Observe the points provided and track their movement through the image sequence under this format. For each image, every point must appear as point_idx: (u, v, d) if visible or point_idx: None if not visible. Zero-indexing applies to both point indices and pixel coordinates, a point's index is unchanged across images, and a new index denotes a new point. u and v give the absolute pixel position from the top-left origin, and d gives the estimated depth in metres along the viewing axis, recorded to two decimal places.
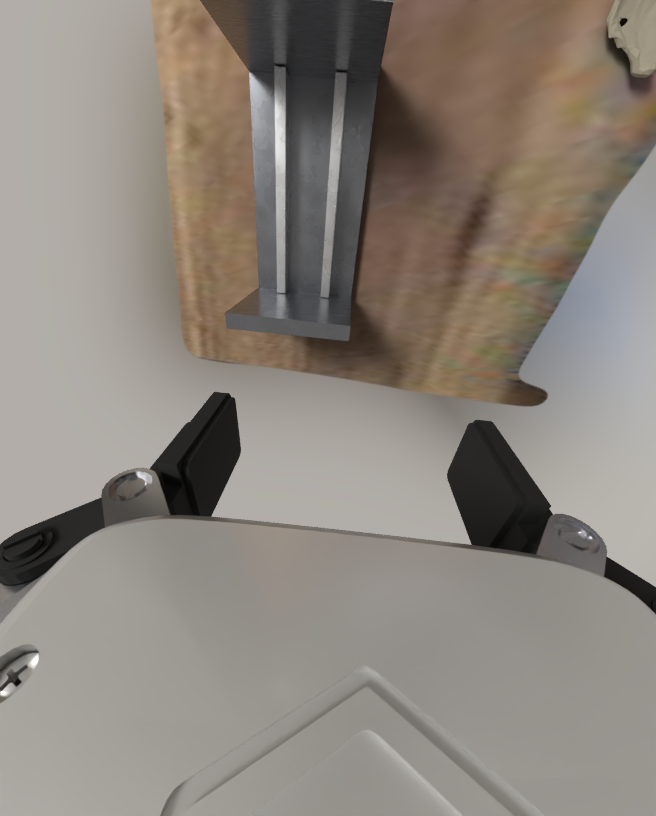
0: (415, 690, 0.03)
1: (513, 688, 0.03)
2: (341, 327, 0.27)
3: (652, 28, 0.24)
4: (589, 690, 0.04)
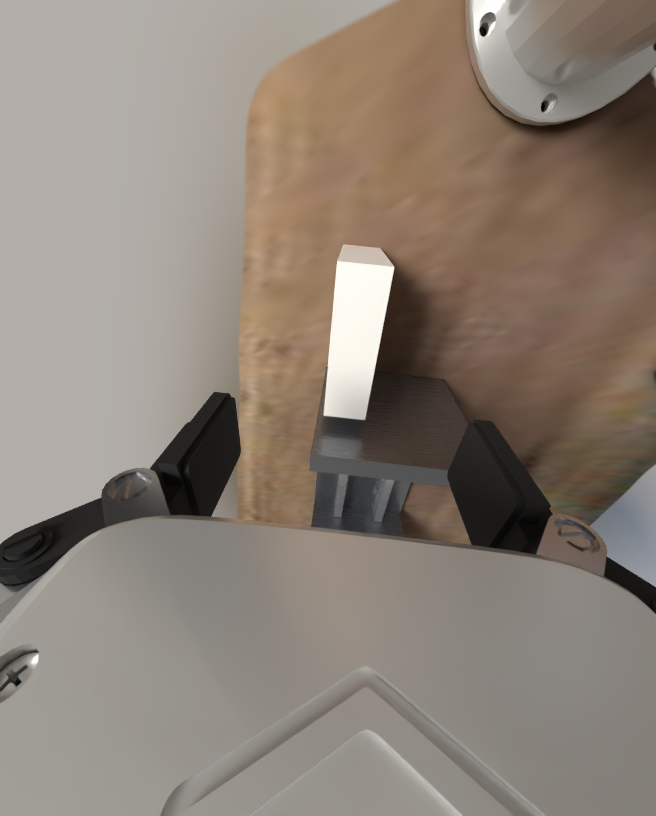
0: (415, 690, 0.03)
1: (513, 688, 0.03)
2: None
3: None
4: (589, 690, 0.04)
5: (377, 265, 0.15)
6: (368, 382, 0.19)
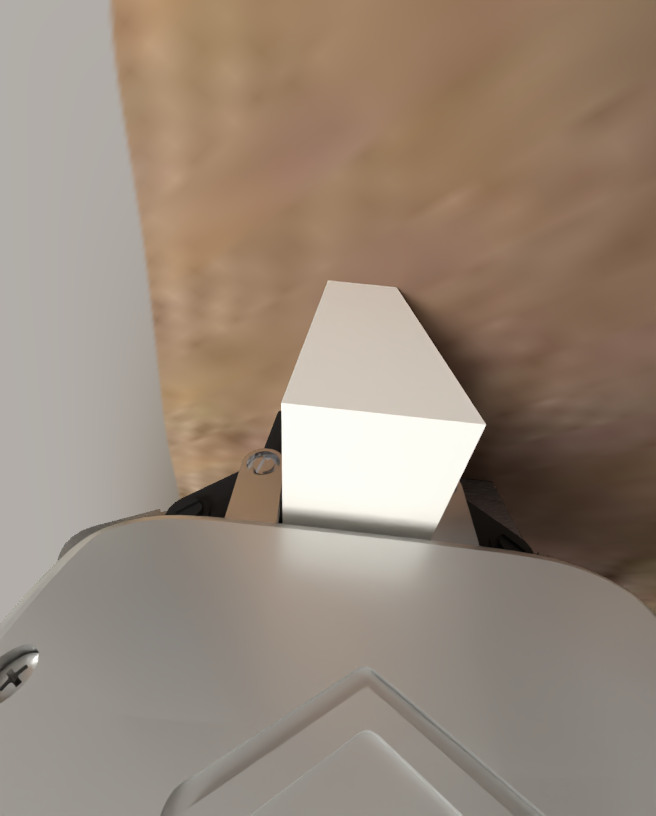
0: (416, 690, 0.03)
1: (513, 688, 0.03)
2: None
3: None
4: (589, 690, 0.04)
5: (424, 416, 0.04)
6: None
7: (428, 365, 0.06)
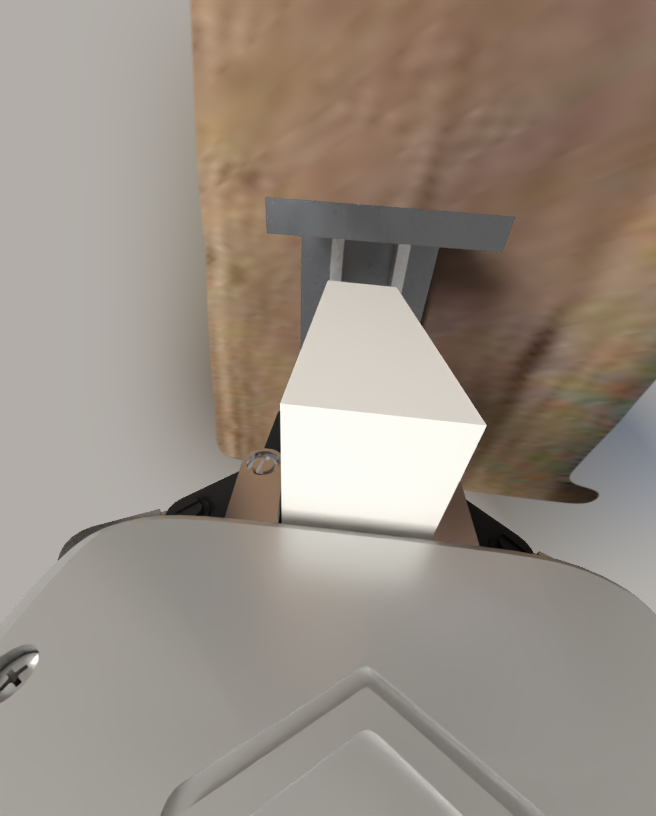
0: (415, 689, 0.03)
1: (513, 688, 0.03)
2: None
3: None
4: (589, 690, 0.04)
5: (424, 416, 0.04)
6: None
7: (428, 365, 0.06)
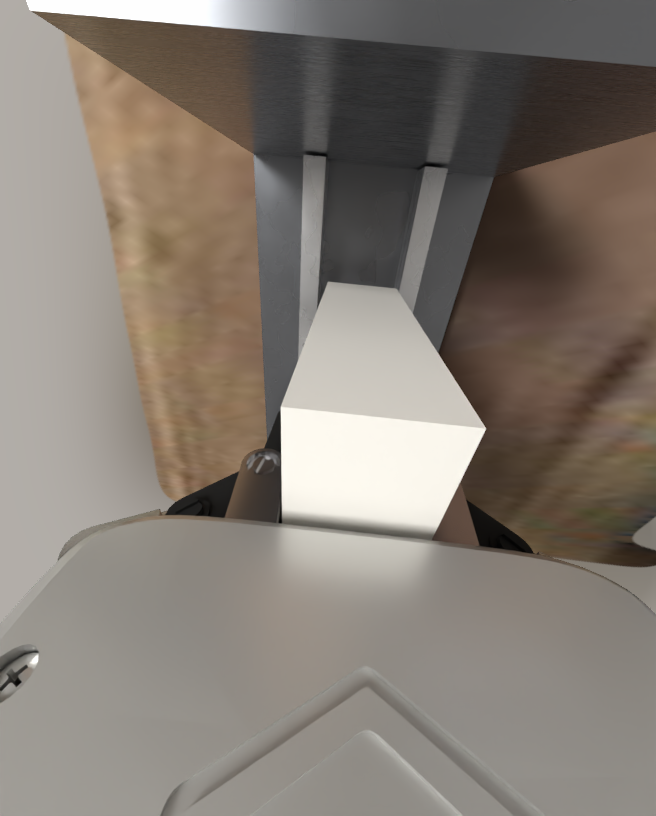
0: (416, 689, 0.03)
1: (513, 688, 0.03)
2: None
3: None
4: (589, 690, 0.04)
5: (423, 419, 0.04)
6: None
7: (428, 368, 0.06)
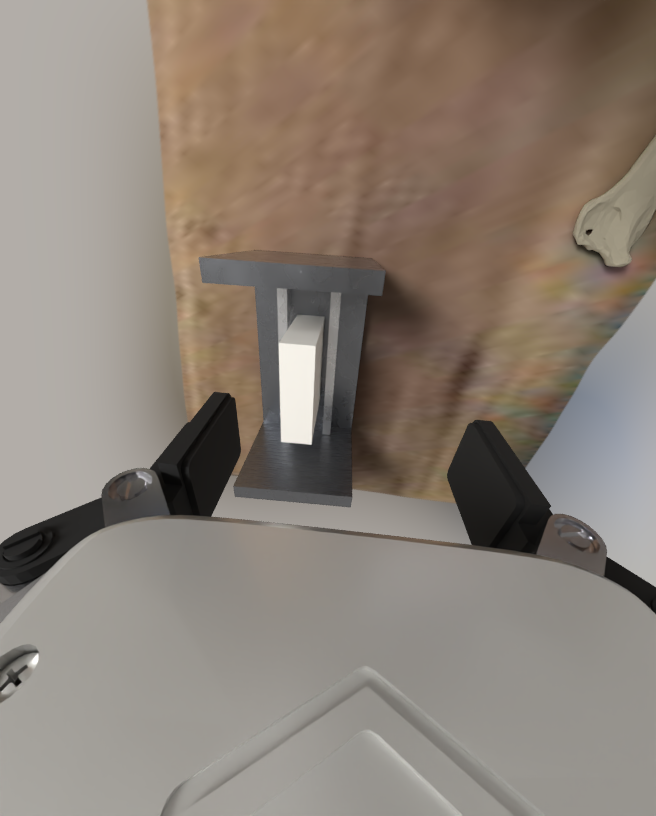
0: (415, 689, 0.03)
1: (513, 688, 0.03)
2: (343, 497, 0.29)
3: (618, 233, 0.26)
4: (589, 690, 0.04)
5: (304, 345, 0.23)
6: (310, 418, 0.27)
7: (313, 338, 0.25)
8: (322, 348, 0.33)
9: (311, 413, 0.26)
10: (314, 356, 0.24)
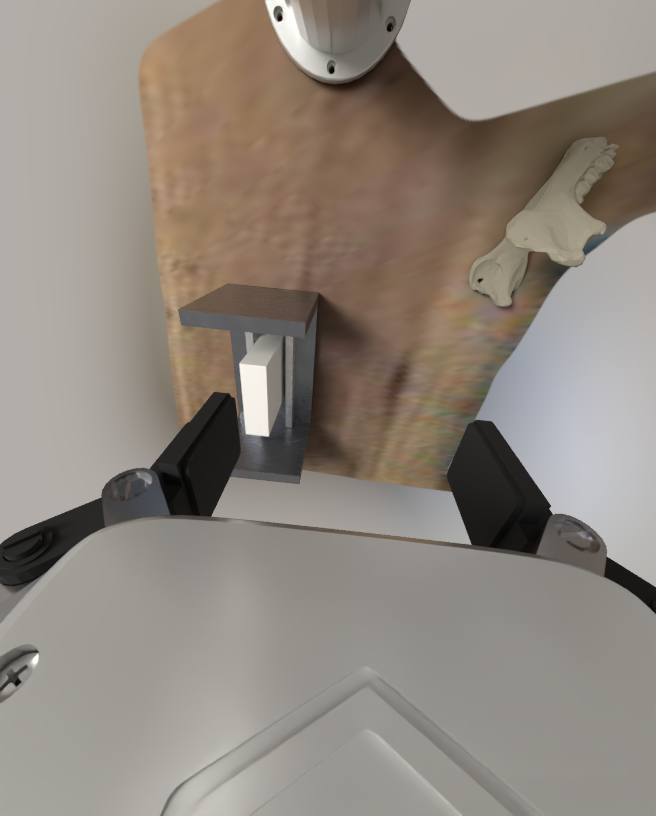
0: (416, 689, 0.03)
1: (513, 688, 0.03)
2: (292, 476, 0.38)
3: (501, 282, 0.34)
4: (589, 690, 0.04)
5: (258, 365, 0.32)
6: (266, 417, 0.36)
7: (266, 359, 0.33)
8: (282, 360, 0.41)
9: (266, 413, 0.35)
10: (266, 373, 0.32)
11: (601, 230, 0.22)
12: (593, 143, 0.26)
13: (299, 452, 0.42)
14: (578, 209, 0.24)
